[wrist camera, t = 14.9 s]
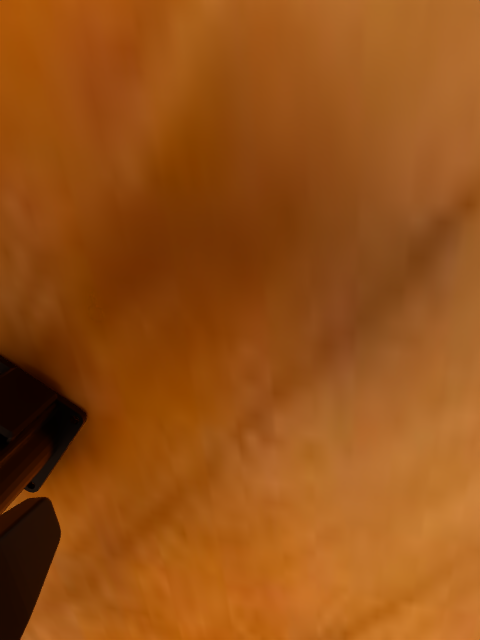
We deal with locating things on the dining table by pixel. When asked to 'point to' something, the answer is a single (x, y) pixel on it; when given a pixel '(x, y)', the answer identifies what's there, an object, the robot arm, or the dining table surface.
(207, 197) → the dining table surface
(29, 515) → the robot arm
